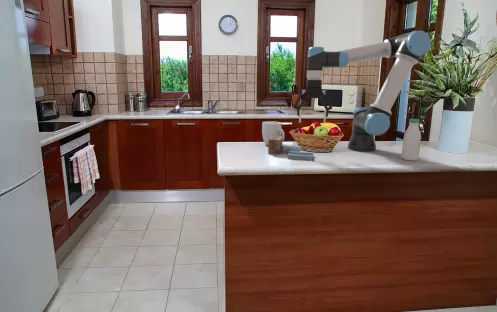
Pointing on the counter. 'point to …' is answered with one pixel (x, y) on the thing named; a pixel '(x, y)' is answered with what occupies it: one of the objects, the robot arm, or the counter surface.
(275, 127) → the mug
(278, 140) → the bearing block
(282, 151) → the shaft
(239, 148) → the counter surface
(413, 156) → the milk bottle
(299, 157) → the cradle
